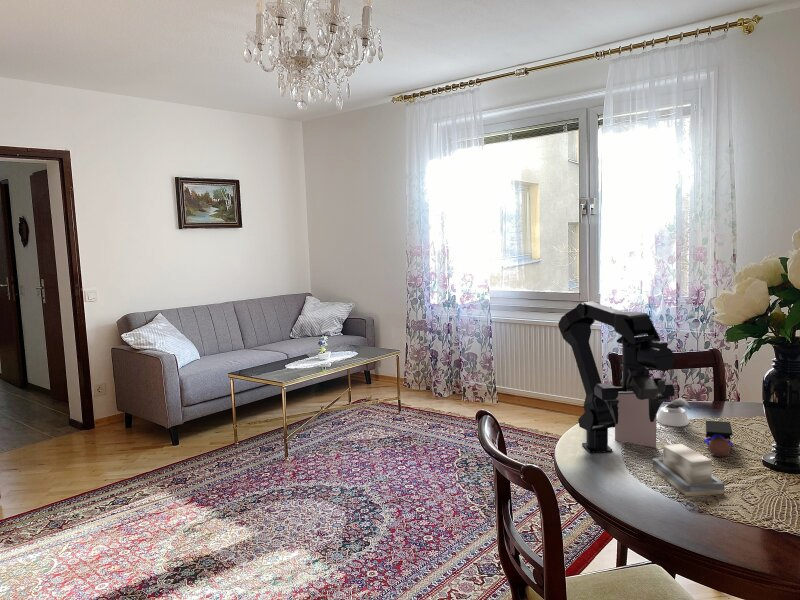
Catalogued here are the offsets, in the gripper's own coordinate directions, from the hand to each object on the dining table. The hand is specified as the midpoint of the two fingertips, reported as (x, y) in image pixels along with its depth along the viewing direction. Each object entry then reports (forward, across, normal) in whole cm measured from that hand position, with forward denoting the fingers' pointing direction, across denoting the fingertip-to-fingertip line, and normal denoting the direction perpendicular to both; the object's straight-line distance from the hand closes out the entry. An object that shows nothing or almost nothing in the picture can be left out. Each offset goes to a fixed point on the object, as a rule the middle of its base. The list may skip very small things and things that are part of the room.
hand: (633, 422), depth 149 cm
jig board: (+12, +9, -9) cm, 17 cm away
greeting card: (+12, +8, +17) cm, 22 cm away
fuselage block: (+11, +9, -9) cm, 17 cm away
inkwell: (+12, +27, +27) cm, 40 cm away
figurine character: (+12, +28, +9) cm, 32 cm away
